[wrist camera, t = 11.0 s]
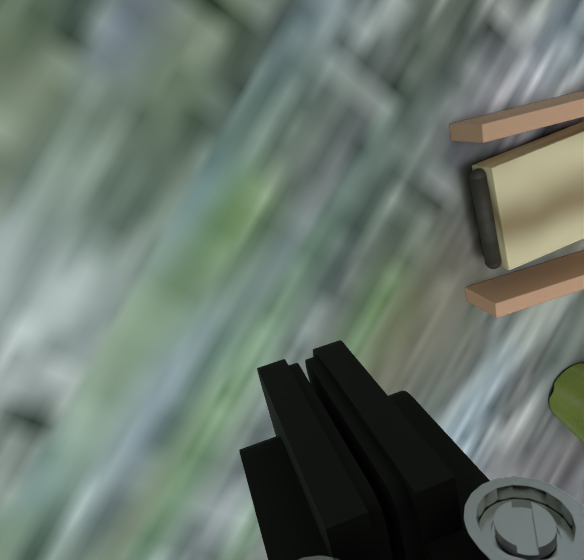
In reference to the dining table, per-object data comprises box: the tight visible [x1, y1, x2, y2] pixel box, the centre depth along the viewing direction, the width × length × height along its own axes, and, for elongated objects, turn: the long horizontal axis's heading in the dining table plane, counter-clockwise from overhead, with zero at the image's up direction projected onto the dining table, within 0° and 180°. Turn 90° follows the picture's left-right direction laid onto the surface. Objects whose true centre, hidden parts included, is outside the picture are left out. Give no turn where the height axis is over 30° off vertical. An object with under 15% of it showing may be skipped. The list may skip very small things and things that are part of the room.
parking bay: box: [449, 91, 584, 318], centre depth 39 cm, size 14×14×4 cm
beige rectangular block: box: [469, 121, 584, 270], centre depth 39 cm, size 8×11×4 cm
